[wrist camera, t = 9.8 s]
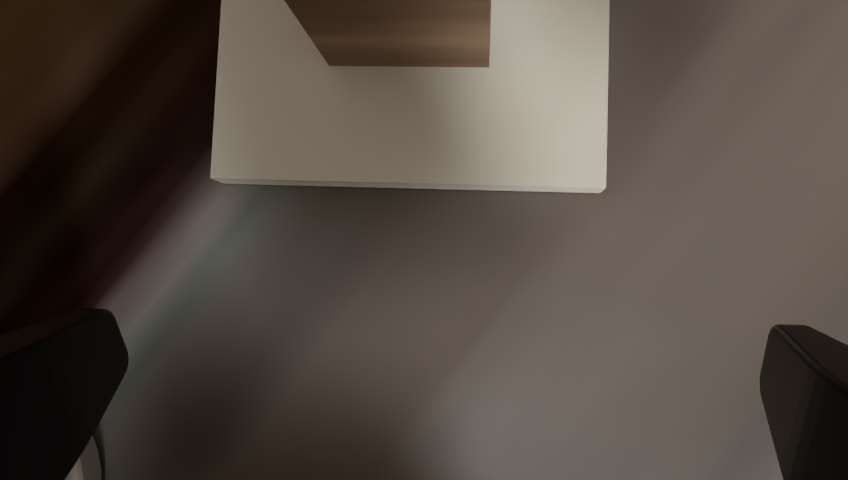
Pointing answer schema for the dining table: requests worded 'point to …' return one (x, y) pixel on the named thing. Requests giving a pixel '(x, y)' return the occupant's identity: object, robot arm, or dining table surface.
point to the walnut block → (398, 31)
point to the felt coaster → (416, 106)
